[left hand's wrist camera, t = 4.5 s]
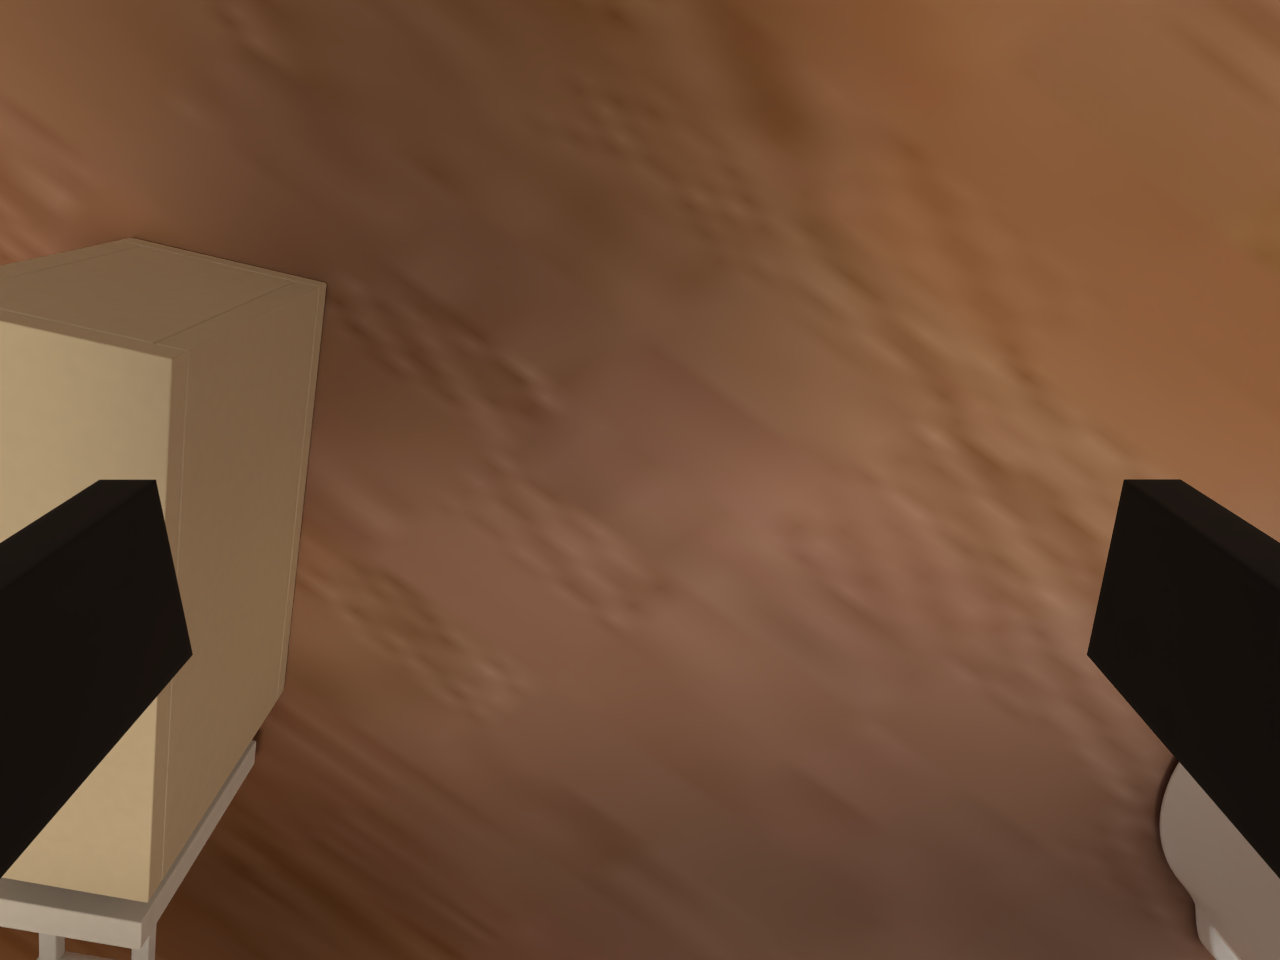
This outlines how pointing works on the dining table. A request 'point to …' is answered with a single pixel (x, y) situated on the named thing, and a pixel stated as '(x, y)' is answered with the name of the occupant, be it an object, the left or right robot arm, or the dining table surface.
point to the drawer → (106, 915)
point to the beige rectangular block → (166, 507)
